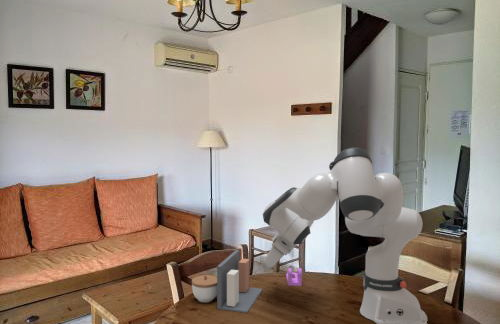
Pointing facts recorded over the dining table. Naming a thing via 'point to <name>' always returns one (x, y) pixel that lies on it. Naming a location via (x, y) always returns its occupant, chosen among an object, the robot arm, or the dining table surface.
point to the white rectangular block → (232, 287)
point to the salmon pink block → (243, 275)
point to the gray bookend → (222, 269)
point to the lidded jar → (204, 287)
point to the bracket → (294, 281)
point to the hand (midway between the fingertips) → (261, 270)
